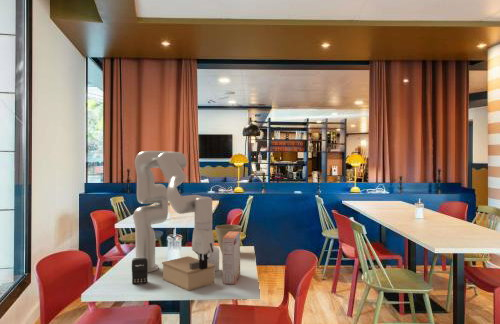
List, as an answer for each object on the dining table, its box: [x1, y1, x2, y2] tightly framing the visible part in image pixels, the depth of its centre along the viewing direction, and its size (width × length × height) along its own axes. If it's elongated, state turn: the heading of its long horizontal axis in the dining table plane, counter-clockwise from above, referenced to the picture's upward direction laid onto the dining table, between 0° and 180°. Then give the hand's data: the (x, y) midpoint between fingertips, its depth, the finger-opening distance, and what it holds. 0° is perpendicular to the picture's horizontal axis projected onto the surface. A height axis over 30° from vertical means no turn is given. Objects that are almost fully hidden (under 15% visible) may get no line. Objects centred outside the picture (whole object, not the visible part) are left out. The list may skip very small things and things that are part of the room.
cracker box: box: [221, 231, 241, 285], centre depth 169 cm, size 14×6×21 cm, turn 171°
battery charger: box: [131, 256, 149, 285], centre depth 164 cm, size 7×4×11 cm, turn 103°
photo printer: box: [198, 245, 220, 272], centre depth 181 cm, size 10×4×12 cm, turn 123°
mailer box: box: [162, 264, 215, 292], centre depth 166 cm, size 20×14×7 cm
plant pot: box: [214, 224, 242, 253], centre depth 214 cm, size 15×15×16 cm
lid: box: [161, 255, 215, 274], centre depth 166 cm, size 21×15×3 cm
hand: (203, 268), depth 157 cm, fingers closed
